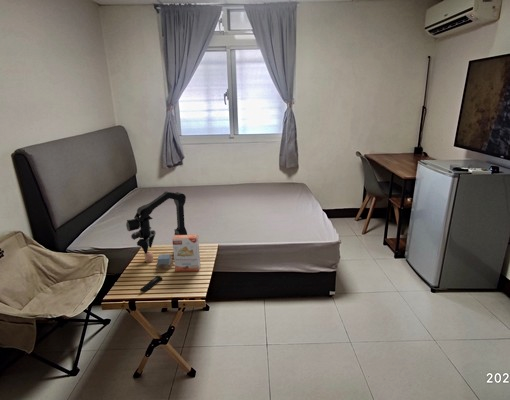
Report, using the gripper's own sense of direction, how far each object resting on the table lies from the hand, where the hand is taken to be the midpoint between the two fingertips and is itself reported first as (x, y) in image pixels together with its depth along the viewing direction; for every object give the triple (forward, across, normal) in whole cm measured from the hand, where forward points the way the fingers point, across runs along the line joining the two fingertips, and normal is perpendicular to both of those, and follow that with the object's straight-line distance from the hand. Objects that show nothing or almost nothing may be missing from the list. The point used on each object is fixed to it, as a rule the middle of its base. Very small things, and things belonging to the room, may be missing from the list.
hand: (148, 250), depth 196 cm
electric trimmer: (+8, +31, +10) cm, 34 cm away
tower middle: (+4, +9, +12) cm, 16 cm away
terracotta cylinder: (+7, 0, 0) cm, 7 cm away
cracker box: (+7, +14, +27) cm, 31 cm away
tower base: (+7, +9, +12) cm, 17 cm away
